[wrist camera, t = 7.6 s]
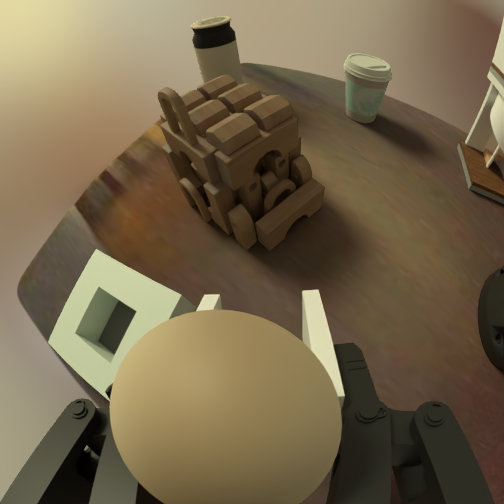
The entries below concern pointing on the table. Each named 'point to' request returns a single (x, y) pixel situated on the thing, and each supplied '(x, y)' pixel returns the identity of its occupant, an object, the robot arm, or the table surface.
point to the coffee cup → (365, 86)
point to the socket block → (110, 318)
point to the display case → (488, 136)
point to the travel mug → (216, 49)
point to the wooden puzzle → (239, 159)
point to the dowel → (225, 412)
